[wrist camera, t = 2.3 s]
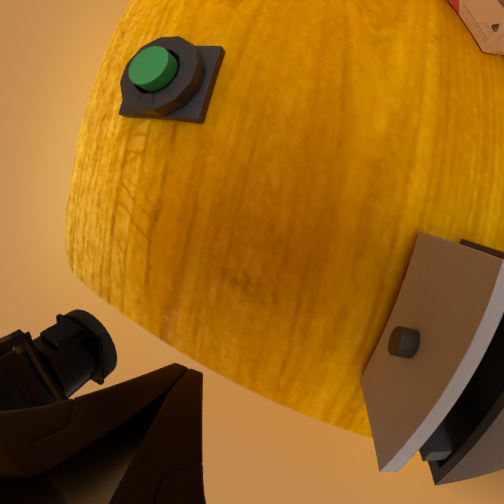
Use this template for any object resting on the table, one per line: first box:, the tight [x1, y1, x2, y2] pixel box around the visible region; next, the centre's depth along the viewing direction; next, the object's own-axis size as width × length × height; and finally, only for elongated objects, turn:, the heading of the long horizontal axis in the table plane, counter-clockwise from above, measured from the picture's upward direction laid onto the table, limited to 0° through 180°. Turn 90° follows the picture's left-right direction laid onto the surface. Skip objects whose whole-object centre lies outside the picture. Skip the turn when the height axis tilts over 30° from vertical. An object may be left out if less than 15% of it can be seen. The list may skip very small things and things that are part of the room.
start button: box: [129, 46, 178, 91], centre depth 14 cm, size 3×3×2 cm
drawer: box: [360, 231, 504, 472], centre depth 12 cm, size 11×11×9 cm
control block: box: [119, 36, 225, 123], centre depth 16 cm, size 6×7×2 cm
